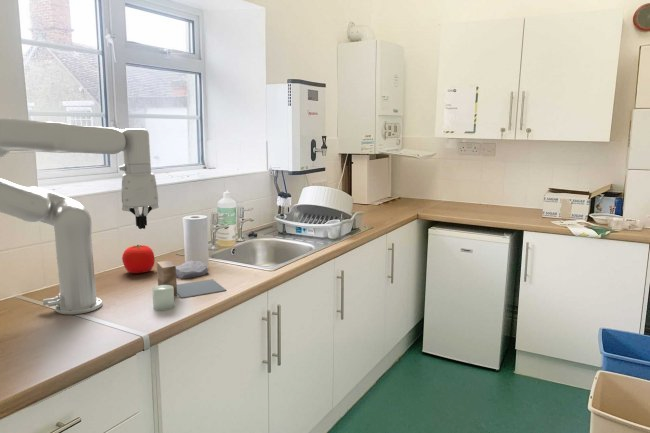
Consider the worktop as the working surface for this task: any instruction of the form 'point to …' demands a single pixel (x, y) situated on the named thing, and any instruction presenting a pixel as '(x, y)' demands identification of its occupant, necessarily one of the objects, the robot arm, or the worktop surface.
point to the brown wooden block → (167, 274)
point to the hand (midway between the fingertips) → (141, 228)
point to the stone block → (191, 269)
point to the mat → (198, 288)
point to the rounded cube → (163, 297)
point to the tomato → (138, 259)
